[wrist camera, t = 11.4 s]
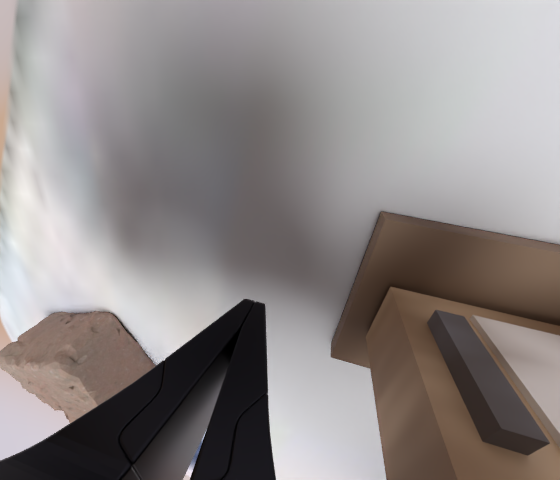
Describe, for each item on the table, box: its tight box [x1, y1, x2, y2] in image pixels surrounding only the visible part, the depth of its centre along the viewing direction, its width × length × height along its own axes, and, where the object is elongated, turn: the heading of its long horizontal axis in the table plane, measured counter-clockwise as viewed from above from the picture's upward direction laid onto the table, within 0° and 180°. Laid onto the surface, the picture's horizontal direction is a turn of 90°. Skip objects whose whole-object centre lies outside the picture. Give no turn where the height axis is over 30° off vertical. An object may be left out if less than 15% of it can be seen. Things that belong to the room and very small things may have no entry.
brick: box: [0, 311, 155, 423], centre depth 18 cm, size 17×8×5 cm, turn 17°
